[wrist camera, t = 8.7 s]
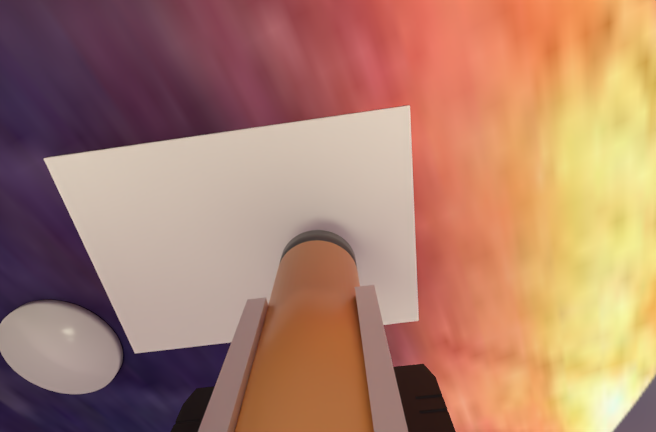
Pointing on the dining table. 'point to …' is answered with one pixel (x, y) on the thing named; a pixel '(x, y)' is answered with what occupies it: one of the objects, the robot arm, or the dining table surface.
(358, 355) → the thermos bottle
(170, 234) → the paper
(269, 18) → the dining table surface
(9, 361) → the coaster
